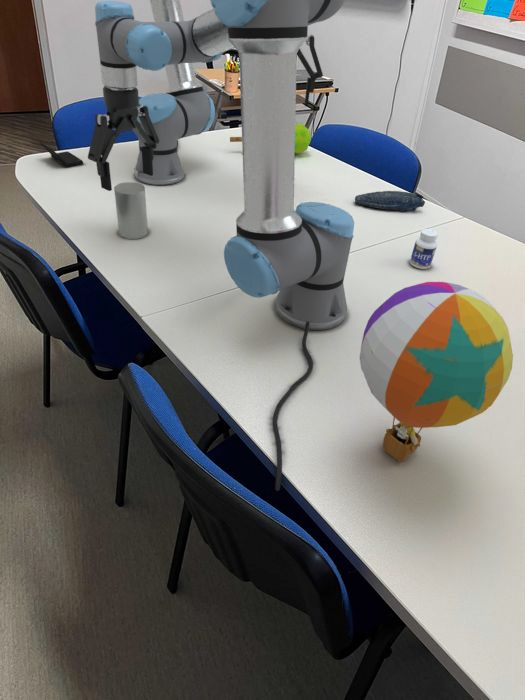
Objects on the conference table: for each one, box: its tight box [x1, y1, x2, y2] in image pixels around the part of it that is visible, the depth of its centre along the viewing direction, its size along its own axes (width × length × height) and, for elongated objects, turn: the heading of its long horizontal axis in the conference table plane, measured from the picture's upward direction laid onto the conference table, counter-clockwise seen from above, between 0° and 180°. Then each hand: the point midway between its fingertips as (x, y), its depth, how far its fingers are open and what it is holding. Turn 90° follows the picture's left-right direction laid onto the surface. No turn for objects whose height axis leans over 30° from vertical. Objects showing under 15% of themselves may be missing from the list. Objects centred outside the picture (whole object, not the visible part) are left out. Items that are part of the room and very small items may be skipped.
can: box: [113, 181, 149, 240], centre depth 131 cm, size 7×7×12 cm
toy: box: [359, 281, 514, 463], centre depth 73 cm, size 20×20×30 cm
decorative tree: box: [229, 123, 312, 155], centre depth 188 cm, size 18×10×30 cm
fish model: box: [354, 190, 426, 212], centre depth 159 cm, size 7×21×5 cm, turn 84°
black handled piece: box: [38, 141, 84, 168], centre depth 168 cm, size 12×7×10 cm
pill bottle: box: [409, 228, 439, 270], centre depth 130 cm, size 5×5×9 cm
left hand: (281, 103), depth 141 cm, fingers open, 13 cm apart
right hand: (128, 181), depth 127 cm, fingers open, 13 cm apart
